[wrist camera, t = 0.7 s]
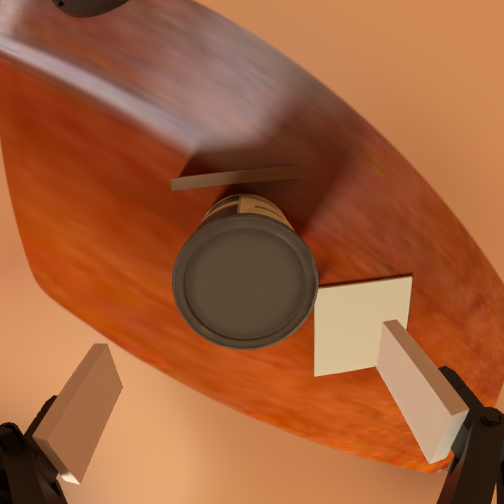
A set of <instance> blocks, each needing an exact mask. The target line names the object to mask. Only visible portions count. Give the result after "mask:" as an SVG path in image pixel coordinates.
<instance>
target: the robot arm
mask: <svg viewBox="0 0 504 504" xmlns="http://www.w3.org/2000/svg"><path fill="white" fill-rule="evenodd" d="M127 1H128V0H52V2H53V3H54V5H55V6H56V7H57V8H59V9H60V10H61V11H63V12H64V13H66V14H67V15H70V16H73V17H80V18H83V17H92V16H96V15H100V14H103V13H106V12H108V11H110V10H113V9H115V8H117V7H118V6H120V5H122V4H124V3H125V2H127ZM377 370H378V371H379V373H380V375H381V377H382V378H383V380H384V382H385V384H386V385H387V387H388V389H389V391H390V392H391V394H392V396H393V398H394V400H395V401H396V403H397V405H398V407H399V409H400V410H401V412H402V414H403V416H404V418H405V420H406V421H407V423H408V425H409V427H410V429H411V431H412V432H413V434H414V436H415V438H416V440H417V442H418V444H419V446H420V448H421V449H422V451H423V453H424V455H425V457H426V459H427V461H428V463H429V464H431V463H434V462H436V461H439V460H442V459H444V458H446V457H447V455H448V453H449V451H450V449H451V450H452V451H453V453H454V457H453V459H452V461H451V463H450V464H449V466H448V468H447V469H446V471H448V474H447V477H446V480H445V483H444V485H443V488H442V491H441V494H440V496H439V499H438V501H437V504H491V501H492V497H493V493H494V489H495V484H497V485H496V487H497V504H504V414H502V412H500V411H499V410H498V409H495V408H492V407H484V406H483V405H482V403H481V402H480V401H479V400H478V398H477V397H476V396H475V395H474V394H473V392H472V391H471V390H470V389H469V387H468V386H466V384H465V383H464V381H463V380H461V378H460V377H459V376H458V374H457V373H456V372H455V371H453V370H452V369H450V368H448V367H447V366H444V367H440V368H437V367H436V366H435V364H434V363H433V362H432V361H431V360H430V358H429V357H428V356H427V355H426V353H425V352H424V351H423V350H422V349H421V347H420V346H419V345H418V344H417V343H416V341H415V340H414V339H413V338H412V337H411V336H410V334H409V333H408V332H407V331H406V330H405V328H404V327H403V326H402V325H401V324H400V323H399V321H398V320H397V319H395V320H389V321H384V322H382V330H381V338H380V346H379V354H378V361H377ZM122 388H123V386H122V383H121V381H120V378H119V376H118V373H117V370H116V367H115V364H114V362H113V359H112V356H111V353H110V350H109V347H108V344H94V345H93V346H92V348H91V349H90V350H89V352H88V353H87V355H86V356H85V357H84V359H83V360H82V362H81V363H80V364H79V366H78V367H77V369H76V370H75V372H74V373H73V374H72V376H71V378H70V379H69V380H68V382H67V383H66V385H65V386H64V388H63V389H62V391H61V392H60V394H59V395H58V396H55V395H54V396H53V397H51V398H50V399H49V400H48V401H46V402H45V404H44V405H43V407H42V408H41V411H39V413H38V414H37V417H35V419H34V420H33V422H32V423H31V425H30V426H29V428H28V429H27V431H26V433H25V434H24V435H23V434H22V432H21V431H20V429H19V428H18V426H17V425H16V424H14V423H10V422H8V423H3V424H1V425H0V504H68V503H67V501H66V499H65V496H64V494H63V491H62V489H61V486H60V484H59V482H58V480H57V479H56V477H57V474H58V472H59V474H60V475H61V476H62V477H63V478H64V480H66V481H68V482H73V483H76V484H81V482H82V479H83V477H84V474H85V472H86V469H87V467H88V465H89V462H90V460H91V457H92V455H93V453H94V450H95V448H96V446H97V443H98V441H99V439H100V437H101V434H102V432H103V430H104V427H105V425H106V423H107V421H108V419H109V416H110V414H111V412H112V410H113V407H114V405H115V403H116V401H117V399H118V397H119V394H120V392H121V390H122Z"/></svg>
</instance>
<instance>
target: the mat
mask: <svg viewBox="0 0 504 504" xmlns="http://www.w3.org/2000/svg"><path fill="white" fill-rule="evenodd" d="M411 286H412V276H404V277H397V278H389V279H382V280H374V281H366V282H358V283H350V284H342V285H333V286H325V287H318V294H317V298H316V302H315V304H314V376H321V375H328V374H335V373H341V372H347V371H353V370H358V369H364V368H369V367H374V366H377V361H378V354H379V346H380V338H381V330H382V322H384V321H389V320H395V319H397V320H398V321H399V323H400V324H401V325H402V326H403V327H404V328H405V330H406V328H407V321H408V313H409V305H410V296H411Z"/></svg>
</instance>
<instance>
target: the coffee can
mask: <svg viewBox="0 0 504 504" xmlns="http://www.w3.org/2000/svg"><path fill="white" fill-rule="evenodd" d="M318 287H319V275H318V269H317V265H316V262H315V259H314V256H313V254H312V252H311V250H310V248H309V247H308V245H307V244H306V243H305V241H304V240H303V239H302V238H301V237H300V236H299V235H298V234H297V233H296V232H295V230H294V229H293V228H292V226H291V225H290V223H289V222H288V221H287V219H286V218H285V216H284V214H283V213H282V211H281V210H280V209H279V208H278V207H277V206H276V205H275V204H274V203H272V202H271V201H269V200H267V199H266V198H264V197H261V196H258V195H253V194H236V195H232V196H229V197H226V198H224V199H222V200H220V201H219V202H217V203H216V204H215V205H214V206H213V207H211V208H210V209H209V211H208V212H207V213H206V215H205V217H204V218H203V221H202V222H201V224H200V225H199V227H198V228H197V230H196V231H195V232H194V233H193V234H192V235H191V237H190V238H189V239H188V240H187V241H186V243H185V244H184V245H183V247H182V248H181V250H180V252H179V254H178V256H177V258H176V261H175V264H174V268H173V274H172V288H173V295H174V299H175V303H176V305H177V308H178V310H179V312H180V314H181V315H182V317H183V318H184V320H185V321H186V323H187V324H188V325H189V326H190V327H191V328H192V329H193V330H194V331H195V332H196V333H197V334H199V335H200V336H201V337H203V338H205V339H206V340H208V341H210V342H212V343H214V344H216V345H219V346H222V347H226V348H230V349H236V350H254V349H260V348H265V347H268V346H271V345H274V344H276V343H279V342H281V341H282V340H284V339H286V338H288V337H289V336H290V335H292V334H293V333H294V332H295V331H296V330H298V329H299V328H300V327H301V326H302V324H303V323H304V322H305V321H306V319H307V318H308V316H309V315H310V313H311V311H312V309H313V307H314V304H315V302H316V298H317V294H318Z"/></svg>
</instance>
